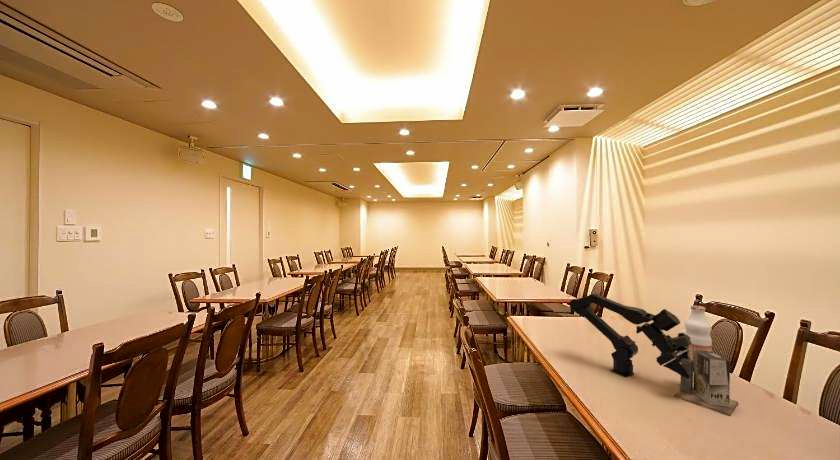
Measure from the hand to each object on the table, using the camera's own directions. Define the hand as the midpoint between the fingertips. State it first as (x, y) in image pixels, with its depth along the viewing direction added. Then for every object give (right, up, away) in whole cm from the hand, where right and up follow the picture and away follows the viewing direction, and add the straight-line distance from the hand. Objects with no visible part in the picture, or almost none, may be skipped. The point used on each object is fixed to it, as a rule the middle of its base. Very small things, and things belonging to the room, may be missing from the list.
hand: (692, 374), depth 119 cm
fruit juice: (+22, -8, +24) cm, 33 cm away
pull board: (+2, -8, -3) cm, 9 cm away
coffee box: (+3, -7, -4) cm, 9 cm away
